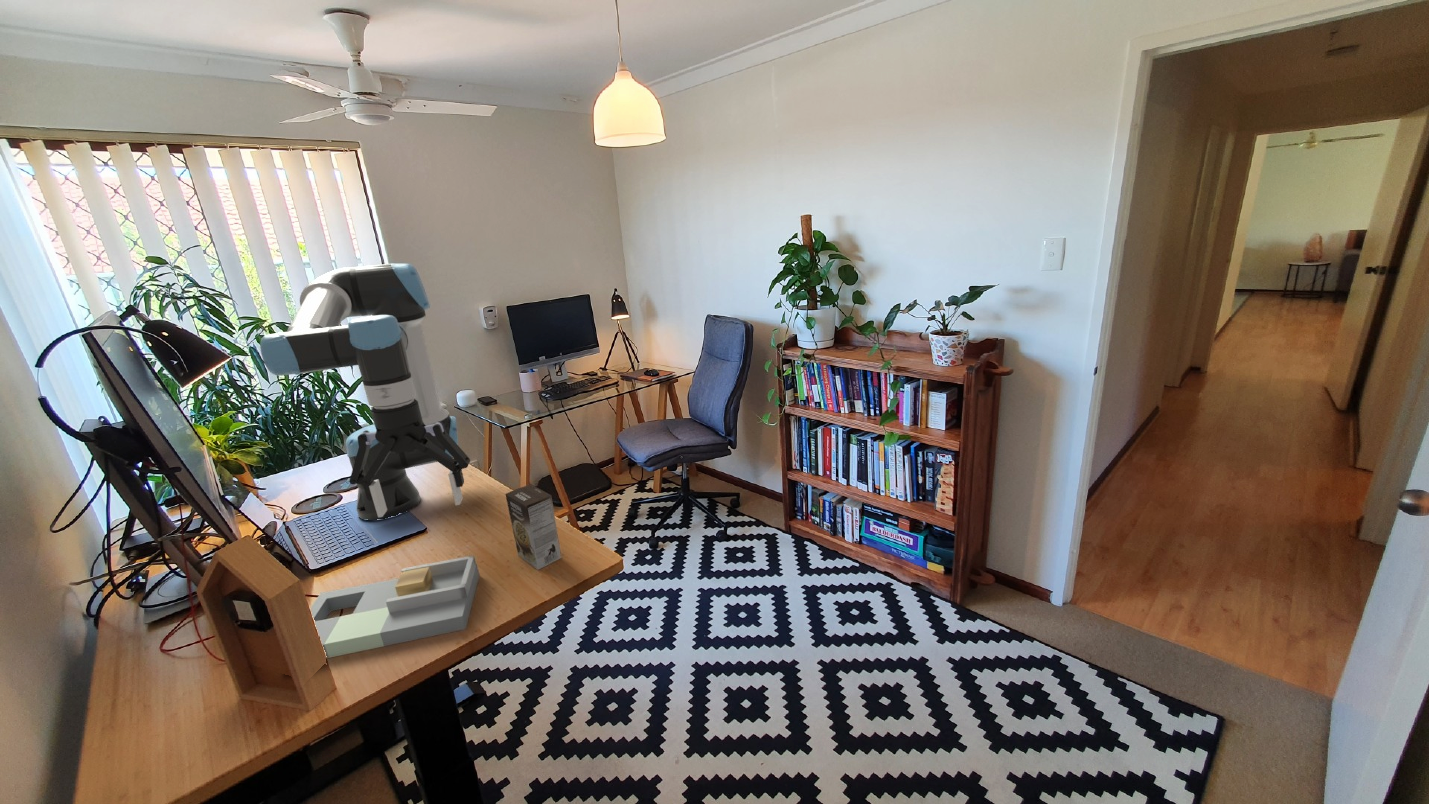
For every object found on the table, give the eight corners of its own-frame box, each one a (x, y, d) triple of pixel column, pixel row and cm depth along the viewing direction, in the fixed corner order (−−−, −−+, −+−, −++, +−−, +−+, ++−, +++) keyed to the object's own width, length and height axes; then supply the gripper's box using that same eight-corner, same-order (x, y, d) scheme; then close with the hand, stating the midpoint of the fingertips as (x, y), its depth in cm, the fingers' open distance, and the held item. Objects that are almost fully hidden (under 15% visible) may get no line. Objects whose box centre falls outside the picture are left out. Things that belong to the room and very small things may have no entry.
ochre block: (406, 586, 111) (402, 571, 110) (433, 581, 112) (429, 566, 111) (399, 601, 106) (395, 586, 105) (427, 596, 107) (422, 581, 106)
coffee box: (516, 556, 124) (503, 493, 119) (541, 543, 128) (530, 482, 123) (537, 571, 118) (524, 506, 113) (563, 557, 122) (551, 494, 117)
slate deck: (325, 605, 111) (317, 582, 110) (479, 575, 118) (474, 554, 116) (284, 667, 96) (274, 642, 94) (465, 629, 102) (459, 605, 100)
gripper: (306, 419, 91) (341, 529, 98) (463, 399, 96) (486, 505, 103) (325, 405, 98) (357, 509, 105) (471, 388, 103) (492, 488, 110)
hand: (421, 507), depth 104 cm, fingers open, 13 cm apart
